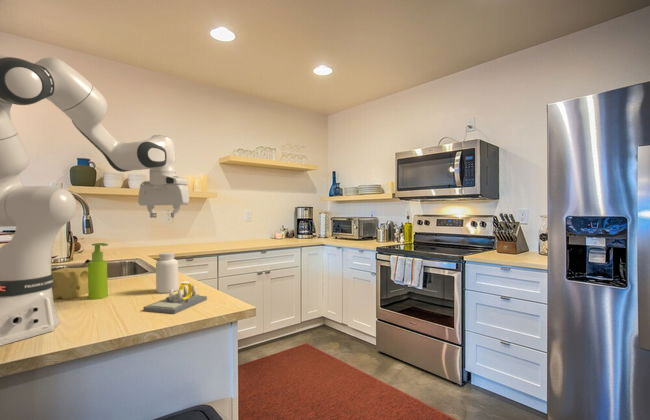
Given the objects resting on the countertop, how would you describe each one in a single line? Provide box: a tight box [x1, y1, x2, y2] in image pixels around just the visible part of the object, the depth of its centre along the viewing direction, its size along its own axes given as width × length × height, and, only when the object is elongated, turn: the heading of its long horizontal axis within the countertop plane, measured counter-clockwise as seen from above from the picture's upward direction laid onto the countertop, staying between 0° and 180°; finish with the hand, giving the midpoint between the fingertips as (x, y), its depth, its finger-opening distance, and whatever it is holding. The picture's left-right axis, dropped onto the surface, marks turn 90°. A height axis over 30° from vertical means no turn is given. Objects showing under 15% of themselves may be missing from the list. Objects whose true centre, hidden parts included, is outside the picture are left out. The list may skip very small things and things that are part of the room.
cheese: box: [51, 267, 88, 300], centre depth 126 cm, size 10×11×10 cm
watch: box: [178, 280, 193, 300], centre depth 115 cm, size 6×3×6 cm, turn 166°
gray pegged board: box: [143, 284, 208, 315], centre depth 113 cm, size 16×12×5 cm
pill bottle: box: [155, 251, 180, 294], centre depth 132 cm, size 8×8×15 cm
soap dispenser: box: [87, 242, 109, 300], centre depth 123 cm, size 6×7×20 cm
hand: (163, 217), depth 125 cm, fingers open, 8 cm apart
